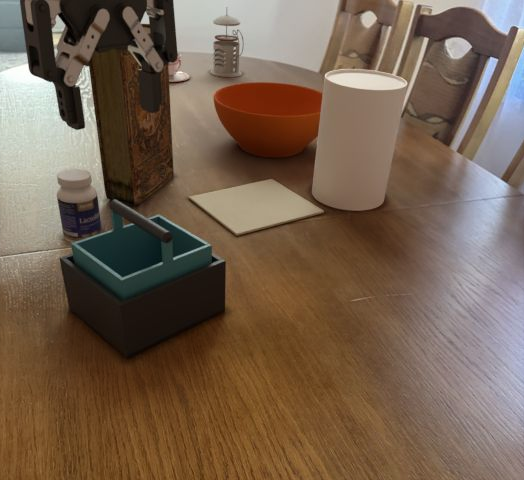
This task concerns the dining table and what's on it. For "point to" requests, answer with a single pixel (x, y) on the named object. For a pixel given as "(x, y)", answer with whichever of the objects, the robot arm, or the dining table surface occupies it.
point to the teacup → (176, 71)
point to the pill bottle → (78, 205)
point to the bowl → (269, 116)
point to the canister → (357, 137)
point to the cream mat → (255, 206)
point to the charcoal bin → (146, 306)
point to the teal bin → (139, 253)
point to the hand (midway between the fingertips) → (114, 118)
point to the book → (130, 127)
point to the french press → (226, 49)
